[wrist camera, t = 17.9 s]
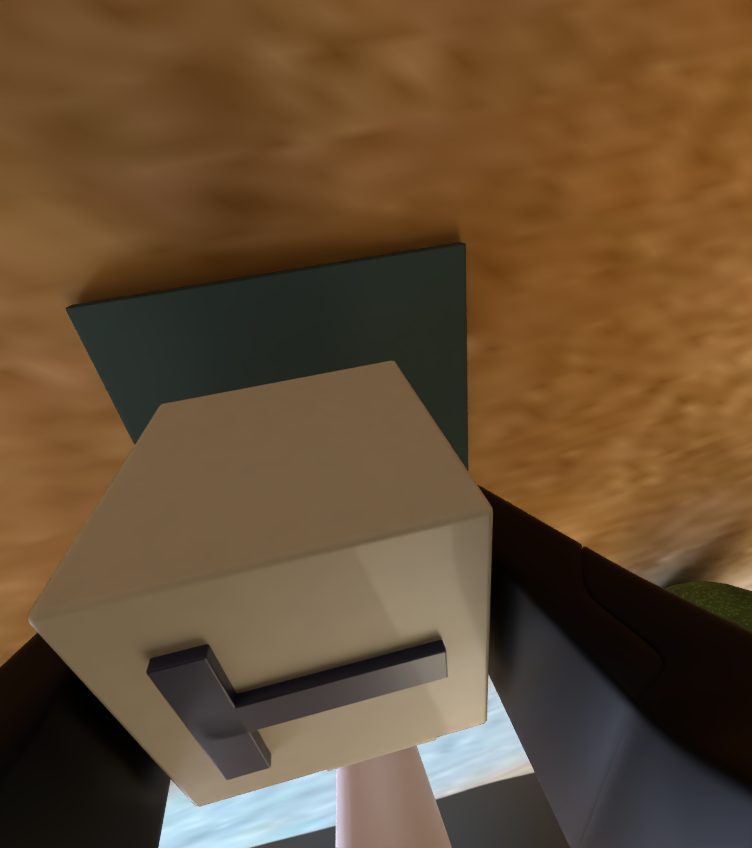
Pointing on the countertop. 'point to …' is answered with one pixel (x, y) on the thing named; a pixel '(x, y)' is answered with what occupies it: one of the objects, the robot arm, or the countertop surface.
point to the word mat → (289, 334)
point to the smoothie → (388, 804)
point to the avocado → (718, 600)
